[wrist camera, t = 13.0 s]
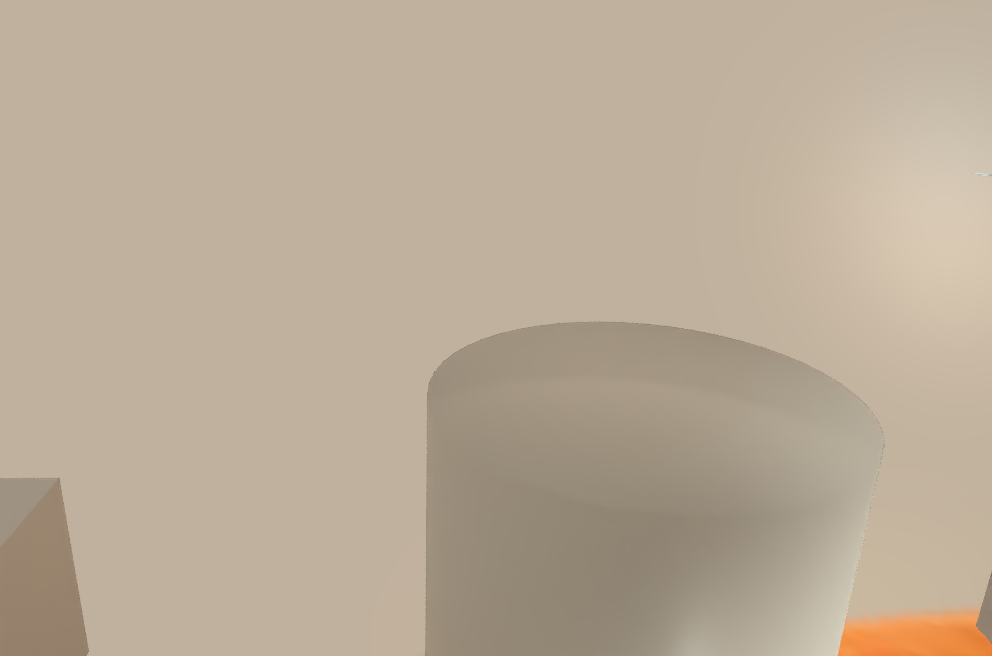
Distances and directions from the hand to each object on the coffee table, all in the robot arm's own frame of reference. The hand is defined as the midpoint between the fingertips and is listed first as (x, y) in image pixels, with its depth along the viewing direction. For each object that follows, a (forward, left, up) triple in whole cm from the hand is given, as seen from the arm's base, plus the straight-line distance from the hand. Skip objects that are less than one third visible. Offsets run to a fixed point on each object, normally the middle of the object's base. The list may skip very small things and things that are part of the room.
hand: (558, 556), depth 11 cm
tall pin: (+1, +3, -11) cm, 11 cm away
